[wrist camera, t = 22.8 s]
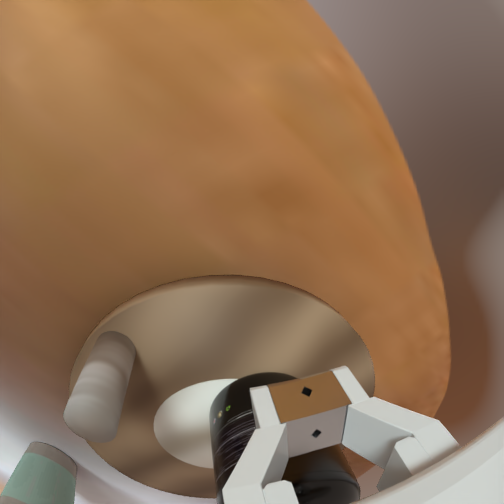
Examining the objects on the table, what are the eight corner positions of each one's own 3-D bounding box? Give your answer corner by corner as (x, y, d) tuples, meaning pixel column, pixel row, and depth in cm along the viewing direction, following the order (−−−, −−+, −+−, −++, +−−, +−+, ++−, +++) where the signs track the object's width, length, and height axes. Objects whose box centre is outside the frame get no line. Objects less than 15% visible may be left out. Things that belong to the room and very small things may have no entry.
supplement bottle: (331, 388, 18) (416, 532, 7) (269, 447, 19) (312, 583, 8) (248, 349, 16) (314, 555, 5) (187, 419, 17) (199, 590, 6)
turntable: (30, 392, 17) (-5, 460, 10) (244, 191, 16) (282, 214, 9) (218, 503, 24) (226, 560, 17) (400, 394, 23) (445, 449, 15)
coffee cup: (5, 429, 19) (-30, 509, 8) (64, 436, 20) (35, 537, 9) (44, 475, 22) (25, 549, 10) (102, 482, 23) (91, 569, 11)
